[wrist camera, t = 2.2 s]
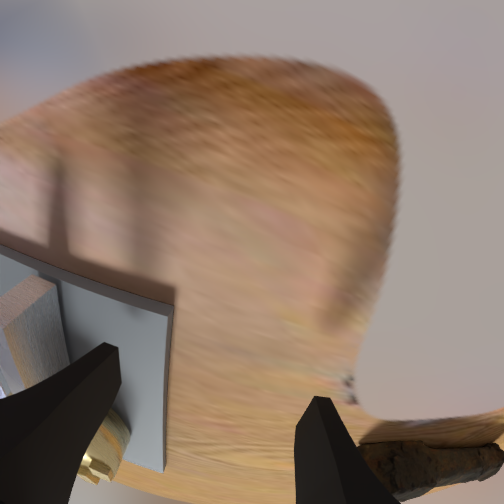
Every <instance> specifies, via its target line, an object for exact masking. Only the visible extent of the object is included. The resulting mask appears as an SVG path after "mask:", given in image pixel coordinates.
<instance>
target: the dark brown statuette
mask: <svg viewBox="0 0 504 504" xmlns="http://www.w3.org/2000/svg"><path fill="white" fill-rule="evenodd" d="M357 449H358V450H359V452H360V453H361V455H362V457H363V458H364V460H365V461H366V463H367V464H368V466H369V467H370V469H371V470H372V471H373V473H374V474H375V475H376V477H377V478H378V479H379V480H380V482H381V483H382V484H383V485H384V487H385V488H386V489H387V490H388V491H389V492H390V493H391V494H392V495H393V496H394V497H395V498H396V499H397V500H398V501H399V502H404V501H406V500H409V499H413V498H416V497H420V496H422V495H424V494H425V493H427V492H428V491H430V490H431V489H433V488H434V487H440V486H446V485H452V484H456V483H466V482H469V481H474V480H478V481H484V480H485V479H488V478H489V477H491V476H493V475H495V474H496V473H497V472H498V471H499V470H500V468H501V467H502V465H503V463H504V451H503V450H501V449H500V447H499V445H498V444H496V443H492V444H488V443H487V444H486V445H485V446H484V447H481V448H466V447H465V448H460V449H456V448H452V449H433V448H429V447H427V446H425V445H424V444H423V442H422V441H394V442H382V443H374V444H364V445H360V446H358V447H357Z"/></svg>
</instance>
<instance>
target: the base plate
mask: <svg viewBox="0 0 504 504" xmlns="http://www.w3.org/2000/svg"><path fill="white" fill-rule="evenodd" d="M32 274H33V275H35V276H38V277H40V278H42V279H45V280H47V281H49V282H52V283H54V284H56V287H57V295H58V303H59V309H60V316H61V322H62V327H63V333H64V338H65V343H66V347H67V352H68V356H69V361H70V364H71V363H73V362H75V361H76V360H78V359H79V358H81V357H82V356H84V355H85V354H87V353H88V352H89V351H91V350H92V349H94V348H95V347H97V346H98V345H100V344H101V343H103V342H106V343H109V344H111V345H114V346H117V347H119V359H120V370H121V380H122V384H121V386H120V389H119V391H118V393H117V396H116V398H115V400H114V403H113V405H112V407H111V408H112V409H113V410H114V411H115V412H116V413H117V414H118V415H119V417H120V418H121V419H122V420H123V422H124V423H125V425H126V426H127V428H128V430H129V433H130V442H129V445H128V447H127V449H126V452H125V454H124V456H123V460H126V461H128V462H131V463H134V464H137V465H139V466H142V467H145V468H148V469H151V470H154V471H157V472H160V473H164V470H165V466H166V411H167V388H168V371H169V356H170V344H171V332H172V321H173V311H174V306H172V305H169V304H165V303H162V302H158V301H155V300H152V299H148V298H145V297H142V296H138V295H135V294H132V293H129V292H126V291H123V290H120V289H117V288H114V287H110V286H107V285H105V284H102V283H99V282H96V281H93V280H90V279H87V278H84V277H82V276H79V275H76V274H73V273H70V272H68V271H65V270H62V269H60V268H57V267H54V266H52V265H49V264H47V263H44V262H42V261H39V260H37V259H34V258H32V257H29V256H27V255H24V254H22V253H20V252H17V251H15V250H12V249H10V248H8V247H6V246H3V245H1V244H0V297H1V296H3V295H4V294H5V293H7V292H8V291H9V290H11V289H12V288H13V287H15V286H16V285H17V284H19V283H20V282H22V281H23V280H25V279H26V278H27V277H29V276H30V275H32ZM0 382H1V384H2V386H3V388H4V390H5V392H6V394H7V396H8V395H9V393H10V392H11V390H10V388H9V386H8V384H7V382H6V380H5V378H4V375H3V373H2V371H1V369H0Z"/></svg>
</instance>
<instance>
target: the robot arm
mask: <svg viewBox="0 0 504 504" xmlns="http://www.w3.org/2000/svg"><path fill="white" fill-rule="evenodd" d="M121 384H122V380H121V370H120V359H119V347H117V346H114V345H111V344H109V343H106V342H103V343H101V344H100V345H98V346H97V347H95V348H94V349H92V350H91V351H89V352H88V353H87V354H85V355H84V356H82V357H81V358H79V359H78V360H76V361H75V362H73V363H71V364H70V365H68V366H67V367H65V368H64V369H62V370H60V371H59V372H57V373H55V374H54V375H52V376H50V377H48V378H47V379H45V380H43V381H41V382H39V383H37V384H35V385H33V386H31V387H29V388H27V389H25V390H23V391H20V392H18V393H15V394H13V395H10V396H7V394H6V392H5V390H4V388H3V386H2V384H1V382H0V504H68V502H69V498H70V494H71V491H72V487H73V484H74V481H75V478H76V475H77V473H78V470H79V467H80V465H81V462H82V460H83V457H84V455H85V453H86V450H87V448H88V446H89V445H90V443H91V441H92V439H93V438H94V436H95V434H96V432H97V431H98V429H99V427H100V426H101V424H102V422H103V420H104V419H105V417H106V415H107V413H108V412H109V410H110V408H111V407H112V405H113V403H114V400H115V398H116V396H117V393H118V391H119V389H120V386H121ZM294 462H295V485H296V504H401V503H400V502H399V501H398V500H397V499H396V498H395V497H394V496H393V495H392V494H391V493H390V492H389V491H388V490H387V489H386V488H385V487H384V485H383V484H382V483H381V482H380V480H379V479H378V478H377V477H376V475H375V474H374V473H373V471H372V470H371V469H370V467H369V466H368V464H367V463H366V461H365V460H364V458H363V457H362V455H361V453H360V452H359V450H358V449H357V447H356V445H355V443H354V442H353V440H352V438H351V436H350V435H349V433H348V431H347V429H346V427H345V425H344V424H343V422H342V420H341V418H340V416H339V414H338V412H337V410H336V408H335V406H334V404H333V402H332V400H331V399H330V398H328V397H319V396H314V398H313V399H312V401H311V403H310V404H309V406H308V408H307V409H306V411H305V412H304V414H303V416H302V417H301V419H300V421H299V422H298V424H297V425H296V431H295V443H294Z"/></svg>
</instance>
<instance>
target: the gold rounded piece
mask: <svg viewBox="0 0 504 504" xmlns="http://www.w3.org/2000/svg"><path fill="white" fill-rule="evenodd" d="M68 365H70V361H69V356H68V352H67V347H66V343H65V338H64V333H63V327H62V322H61V316H60V309H59V303H58V295H57V287H56V284H54V283H52V282H49V281H47V280H45V279H42V278H40V277H38V276H35V275H33V274H32V275H30V276H29V277H27V278H26V279H25V280H23V281H22V282H20V283H19V284H17V285H16V286H15V287H13V288H12V289H11V290H9V291H8V292H7V293H5V294H4V295H3V296H1V297H0V369H1V371H2V373H3V375H4V378H5V380H6V382H7V384H8V386H9V388H10V390H11V392H10V393H9V395H8V396H10V395H13V394H15V393H18V392H20V391H23V390H25V389H27V388H29V387H31V386H33V385H35V384H37V383H39V382H41V381H43V380H45V379H47V378H48V377H50V376H52V375H54V374H55V373H57V372H59V371H60V370H62V369H64V368H65V367H67V366H68ZM129 442H130V433H129V430H128V428H127V426H126V425H125V423H124V422H123V420H122V419H121V418H120V417H119V415H118V414H117V413H116V412H115V411H114V410H113V409H112V408H110V410H109V412H108V413H107V415H106V417H105V419H104V420H103V422H102V424H101V426H100V427H99V429H98V431H97V432H96V434H95V436H94V438H93V439H92V441H91V443H90V445H89V446H88V448H87V450H86V453H85V455H84V457H83V460H82V462H81V465H80V467H79V470H78V473H77V475H78V476H79V477H81V478H82V479H83V480H84V481H86V482H89V483H92V484H95V485H97V484H98V482H99V480H100V479H104V480H106V481H109V482H111V481H112V479H113V478H114V477H115V475H116V473H117V470H118V468H119V466H120V463H121V461H122V459H123V456H124V454H125V452H126V449H127V447H128V445H129Z"/></svg>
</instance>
